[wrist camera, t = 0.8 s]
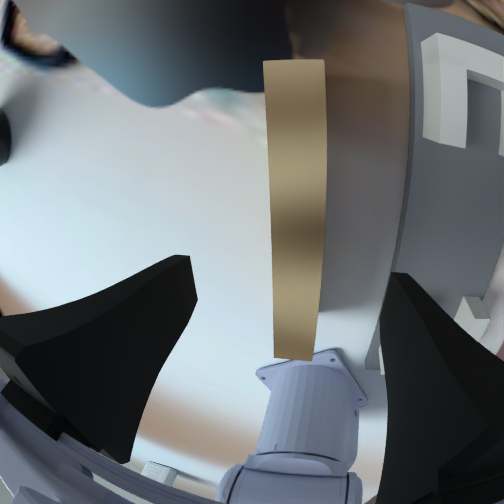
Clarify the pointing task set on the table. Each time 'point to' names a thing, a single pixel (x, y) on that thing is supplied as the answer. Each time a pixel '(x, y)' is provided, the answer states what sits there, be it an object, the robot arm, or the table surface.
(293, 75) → the slat
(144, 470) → the photo printer
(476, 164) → the cradle
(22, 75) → the table surface
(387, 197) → the table surface
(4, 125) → the supplement bottle
